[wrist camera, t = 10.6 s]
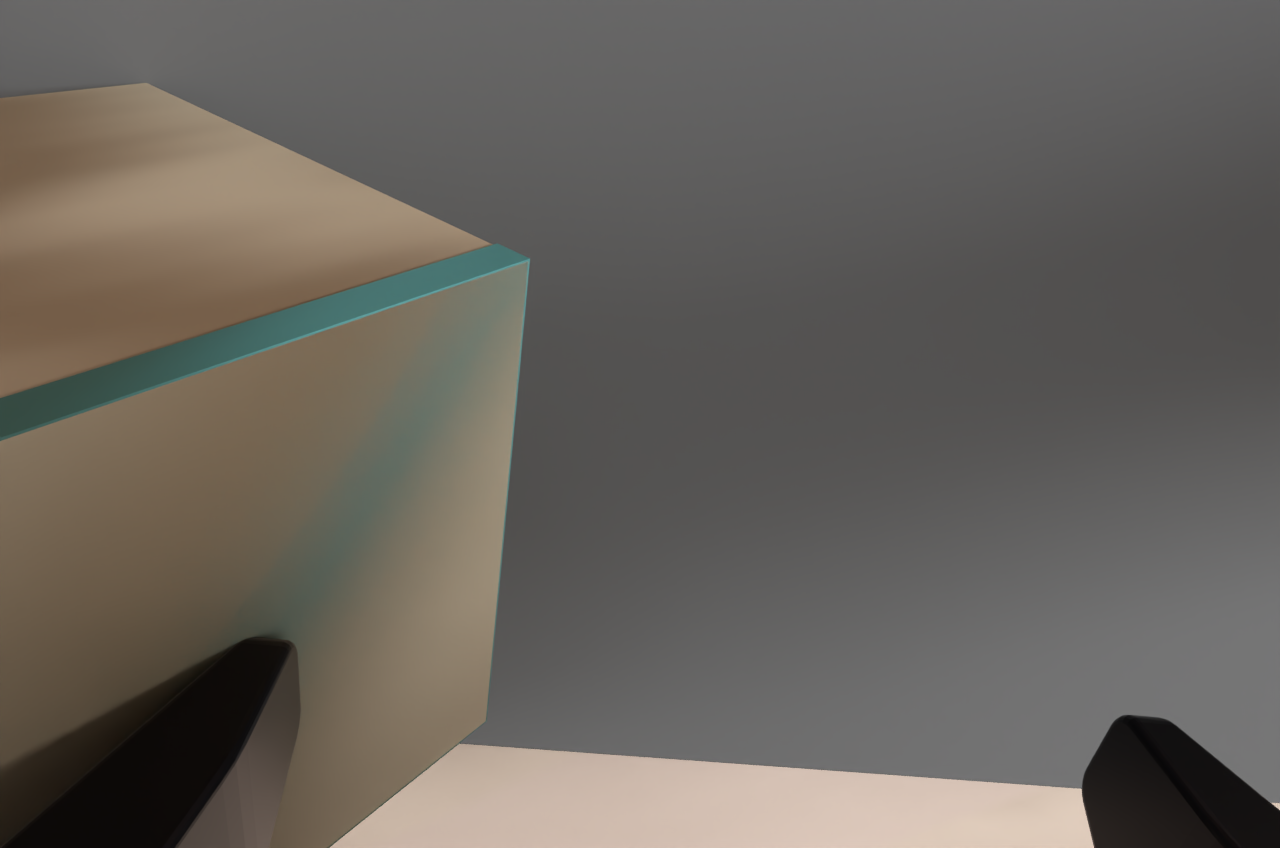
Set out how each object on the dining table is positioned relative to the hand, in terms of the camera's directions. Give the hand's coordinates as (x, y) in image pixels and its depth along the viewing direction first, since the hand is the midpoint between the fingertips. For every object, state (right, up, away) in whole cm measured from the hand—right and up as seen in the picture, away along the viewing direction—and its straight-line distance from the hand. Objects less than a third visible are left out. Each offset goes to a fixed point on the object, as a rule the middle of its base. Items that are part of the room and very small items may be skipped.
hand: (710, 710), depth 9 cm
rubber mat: (-1, +3, +6) cm, 7 cm away
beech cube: (-4, 0, 0) cm, 4 cm away
